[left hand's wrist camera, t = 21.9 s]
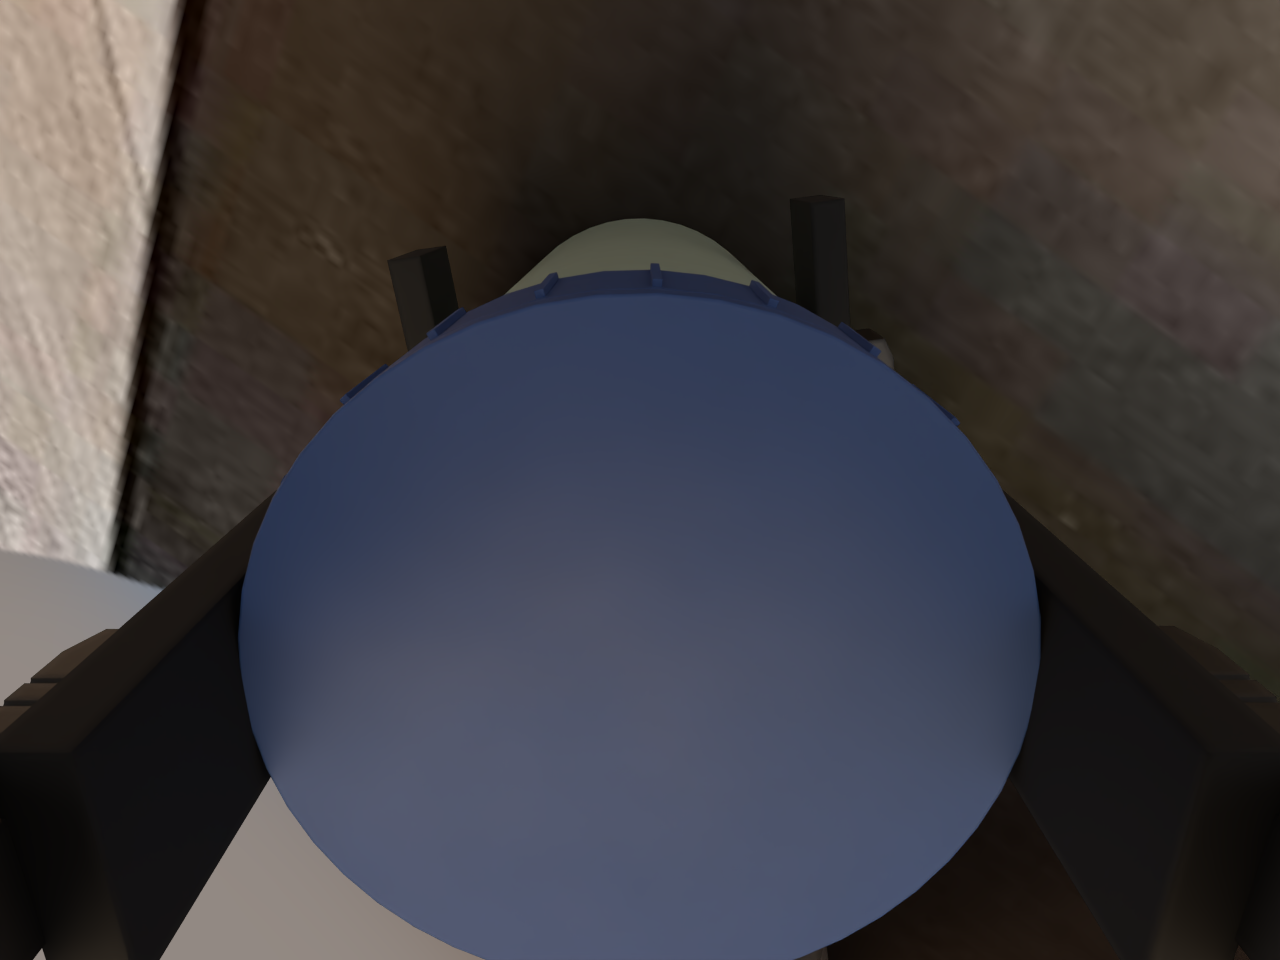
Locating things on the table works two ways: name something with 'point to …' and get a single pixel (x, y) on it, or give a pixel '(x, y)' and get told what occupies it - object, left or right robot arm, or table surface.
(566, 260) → the jar
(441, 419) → the lid
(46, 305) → the table surface
